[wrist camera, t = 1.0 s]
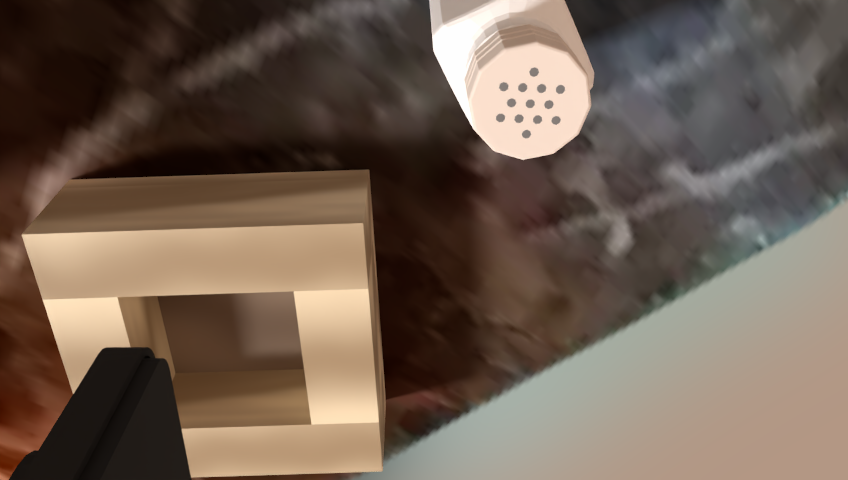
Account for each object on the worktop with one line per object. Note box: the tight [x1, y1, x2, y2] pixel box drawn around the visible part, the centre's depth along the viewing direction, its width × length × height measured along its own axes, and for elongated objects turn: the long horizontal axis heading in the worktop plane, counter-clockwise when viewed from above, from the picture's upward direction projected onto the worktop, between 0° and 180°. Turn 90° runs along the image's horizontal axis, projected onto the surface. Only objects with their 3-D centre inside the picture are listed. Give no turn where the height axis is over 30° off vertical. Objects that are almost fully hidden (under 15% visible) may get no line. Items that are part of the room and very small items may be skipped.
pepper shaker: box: [429, 0, 594, 160], centre depth 25 cm, size 4×4×10 cm
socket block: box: [22, 170, 386, 477], centre depth 33 cm, size 12×12×4 cm
